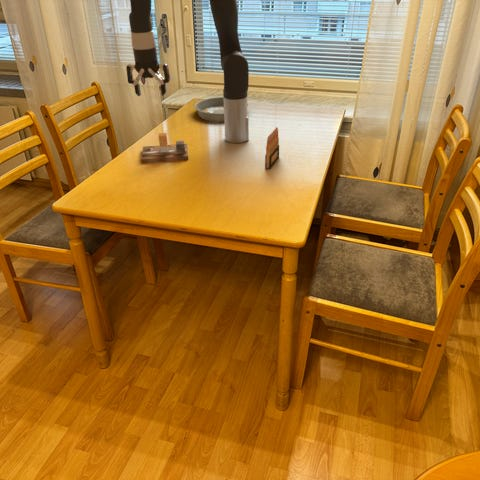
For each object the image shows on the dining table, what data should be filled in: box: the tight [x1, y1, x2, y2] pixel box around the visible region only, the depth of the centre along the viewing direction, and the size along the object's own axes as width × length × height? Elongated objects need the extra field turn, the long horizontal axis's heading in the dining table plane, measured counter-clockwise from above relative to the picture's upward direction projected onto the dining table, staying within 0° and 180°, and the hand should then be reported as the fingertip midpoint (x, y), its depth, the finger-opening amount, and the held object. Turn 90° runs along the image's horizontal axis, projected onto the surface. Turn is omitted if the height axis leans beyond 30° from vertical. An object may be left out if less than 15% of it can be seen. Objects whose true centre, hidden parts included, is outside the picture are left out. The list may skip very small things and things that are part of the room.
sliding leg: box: [158, 132, 169, 153], centre depth 170 cm, size 3×7×7 cm, turn 7°
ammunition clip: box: [264, 127, 280, 170], centre depth 162 cm, size 11×2×12 cm, turn 158°
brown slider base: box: [141, 140, 189, 164], centre depth 171 cm, size 17×12×6 cm
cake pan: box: [194, 96, 249, 123], centre depth 210 cm, size 25×25×4 cm
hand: (151, 95), depth 160 cm, fingers open, 8 cm apart
